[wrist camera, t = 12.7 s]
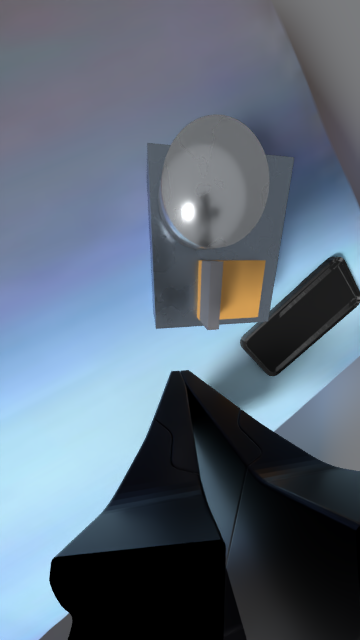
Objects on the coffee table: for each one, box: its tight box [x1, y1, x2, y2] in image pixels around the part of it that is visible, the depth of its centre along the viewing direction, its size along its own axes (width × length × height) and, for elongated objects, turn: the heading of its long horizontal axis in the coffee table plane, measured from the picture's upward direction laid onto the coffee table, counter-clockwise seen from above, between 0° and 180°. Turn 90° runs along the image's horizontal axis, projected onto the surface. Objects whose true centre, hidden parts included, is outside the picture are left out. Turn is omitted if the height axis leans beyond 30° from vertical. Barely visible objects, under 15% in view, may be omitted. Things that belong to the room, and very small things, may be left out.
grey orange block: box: [197, 260, 266, 330], centre depth 14 cm, size 4×3×5 cm
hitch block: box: [147, 143, 294, 329], centre depth 16 cm, size 12×10×5 cm
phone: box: [240, 257, 360, 376], centre depth 23 cm, size 8×1×15 cm
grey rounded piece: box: [158, 115, 269, 250], centre depth 13 cm, size 6×6×7 cm
